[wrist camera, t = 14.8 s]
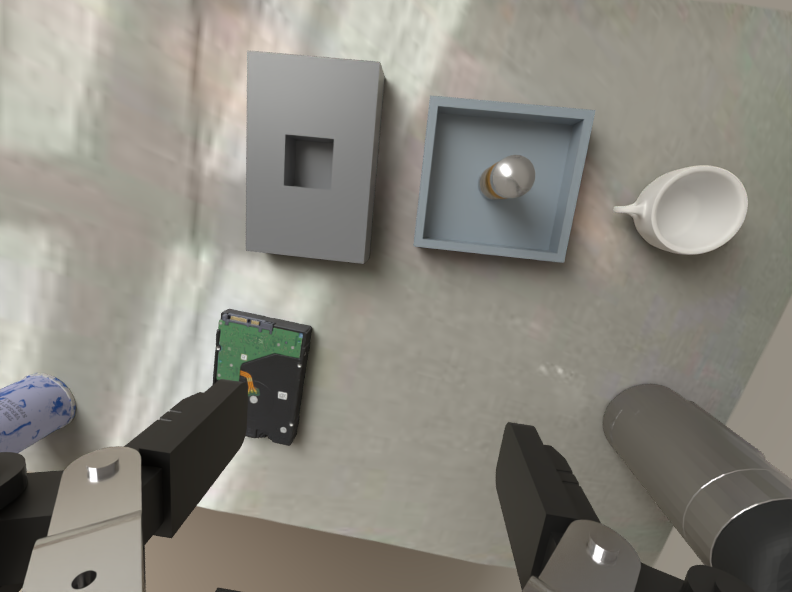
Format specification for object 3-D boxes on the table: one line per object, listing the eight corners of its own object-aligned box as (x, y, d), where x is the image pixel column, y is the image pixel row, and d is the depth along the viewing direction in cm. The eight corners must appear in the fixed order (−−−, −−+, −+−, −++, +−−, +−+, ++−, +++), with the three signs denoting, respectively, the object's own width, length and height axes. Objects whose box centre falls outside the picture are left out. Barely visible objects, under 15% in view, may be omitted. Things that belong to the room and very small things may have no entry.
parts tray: (579, 118, 37) (595, 110, 34) (552, 257, 40) (563, 262, 37) (429, 105, 38) (430, 95, 34) (414, 242, 41) (413, 246, 38)
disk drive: (299, 433, 48) (313, 323, 45) (292, 447, 46) (306, 331, 42) (220, 417, 49) (227, 306, 45) (208, 429, 46) (214, 313, 42)
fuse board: (384, 76, 38) (380, 61, 34) (369, 258, 42) (363, 263, 38) (265, 66, 38) (247, 50, 34) (262, 246, 42) (245, 250, 38)
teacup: (711, 171, 37) (757, 165, 32) (695, 249, 39) (736, 256, 34) (605, 169, 38) (633, 163, 33) (594, 247, 40) (619, 253, 35)
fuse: (512, 168, 38) (538, 156, 29) (507, 201, 39) (531, 200, 30) (480, 164, 38) (496, 152, 29) (475, 198, 39) (490, 195, 30)
